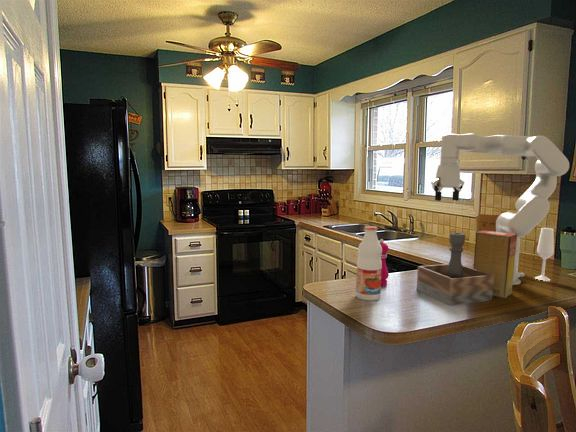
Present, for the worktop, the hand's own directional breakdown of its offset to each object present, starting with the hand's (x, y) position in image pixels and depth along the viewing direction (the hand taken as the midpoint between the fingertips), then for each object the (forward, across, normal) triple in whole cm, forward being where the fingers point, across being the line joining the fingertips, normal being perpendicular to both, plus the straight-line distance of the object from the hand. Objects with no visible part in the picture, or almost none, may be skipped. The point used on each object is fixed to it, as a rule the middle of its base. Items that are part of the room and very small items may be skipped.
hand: (446, 200), depth 181 cm
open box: (+36, +12, +21) cm, 44 cm away
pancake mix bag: (+36, -40, -9) cm, 55 cm away
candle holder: (+36, +12, +21) cm, 44 cm away
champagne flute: (+36, -46, +14) cm, 60 cm away
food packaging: (+36, -6, +23) cm, 44 cm away
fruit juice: (+36, +47, +14) cm, 61 cm away
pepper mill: (+36, +33, 0) cm, 49 cm away
